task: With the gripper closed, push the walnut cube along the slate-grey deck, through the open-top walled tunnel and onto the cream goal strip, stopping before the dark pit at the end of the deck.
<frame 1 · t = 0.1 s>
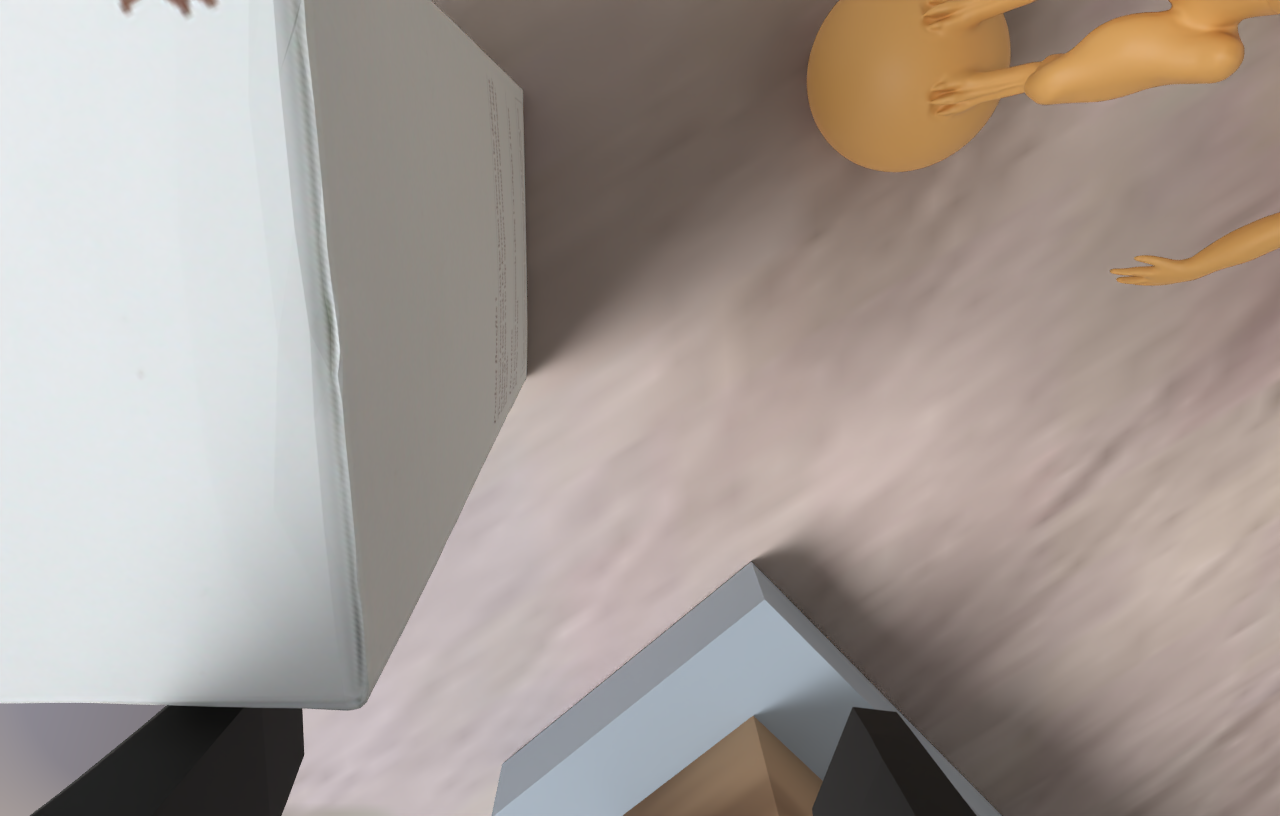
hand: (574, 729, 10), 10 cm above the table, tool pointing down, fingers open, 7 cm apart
figurine: (912, 77, 17), on the table
supplement box: (381, 239, 18), on the table
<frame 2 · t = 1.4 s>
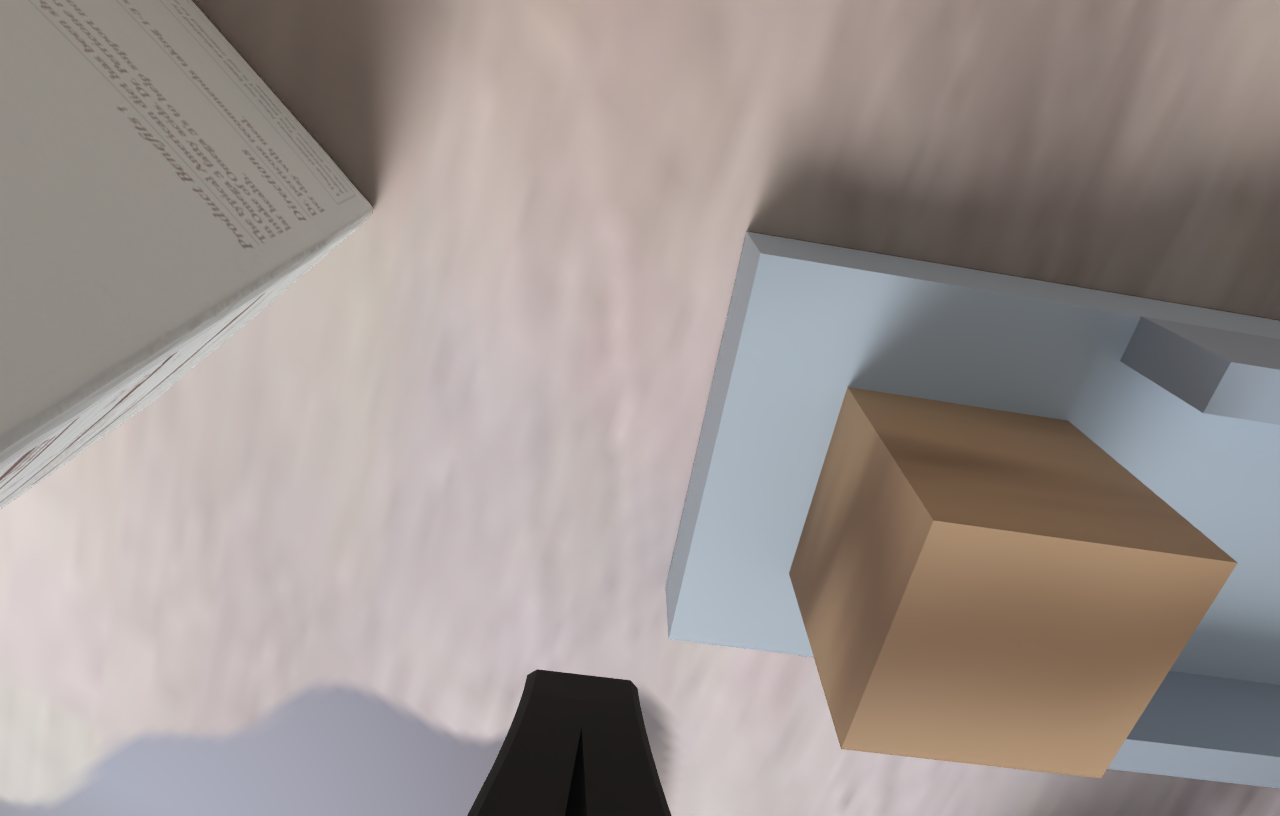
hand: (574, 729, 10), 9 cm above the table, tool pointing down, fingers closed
block: (921, 501, 17), point 2 cm above the table, touching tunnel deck
supplement box: (148, 176, 16), on the table
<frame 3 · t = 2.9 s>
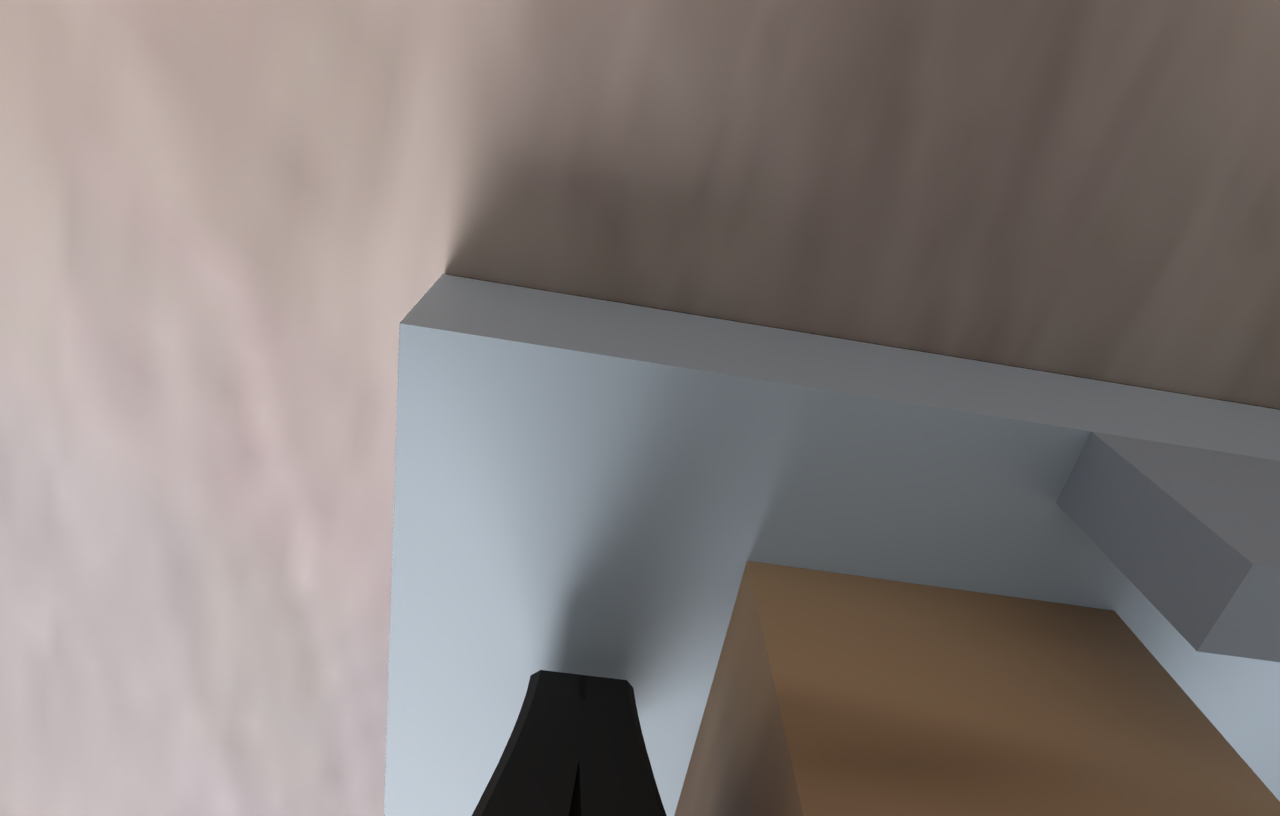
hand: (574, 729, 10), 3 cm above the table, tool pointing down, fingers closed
block: (876, 722, 11), point 2 cm above the table, touching gripper
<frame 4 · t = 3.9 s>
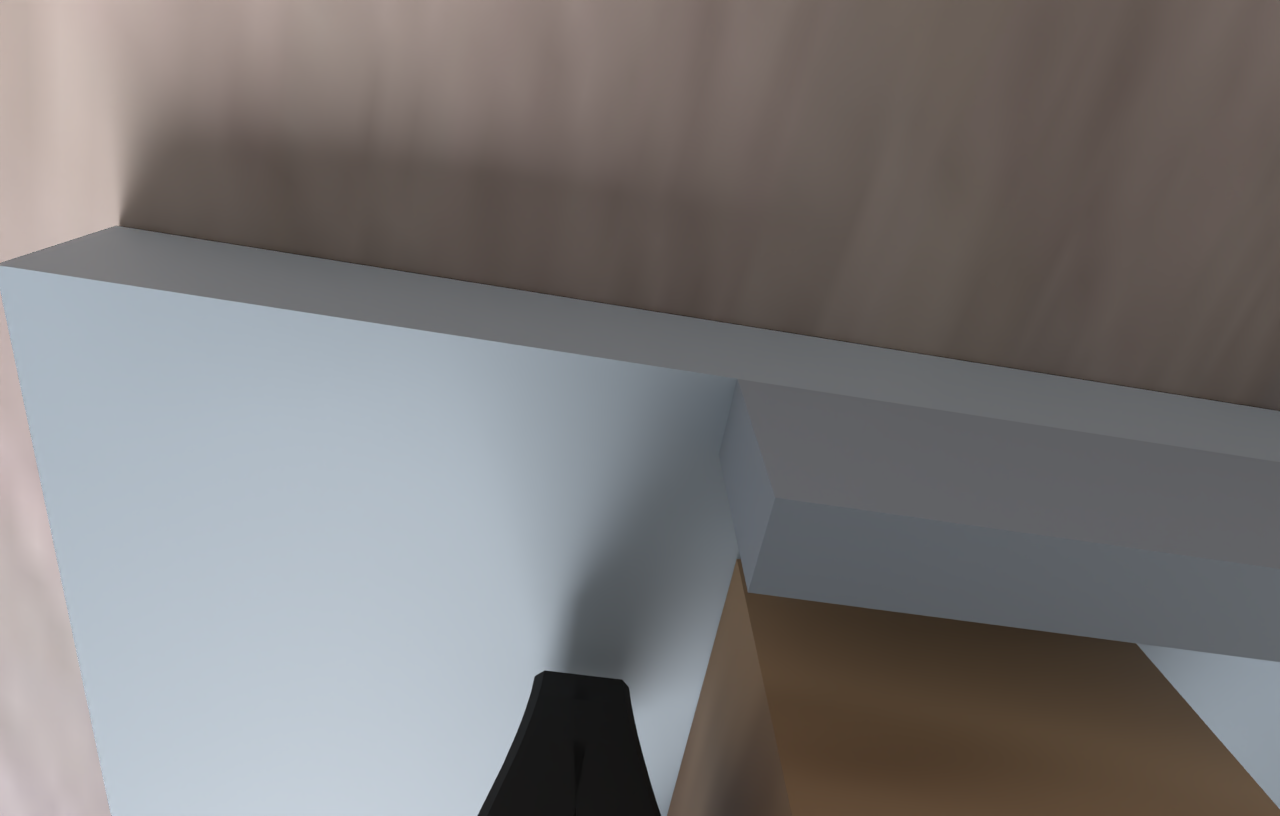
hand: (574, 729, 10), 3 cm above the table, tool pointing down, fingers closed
block: (867, 719, 11), point 2 cm above the table, touching gripper, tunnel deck
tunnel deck: (1159, 668, 13), on the table
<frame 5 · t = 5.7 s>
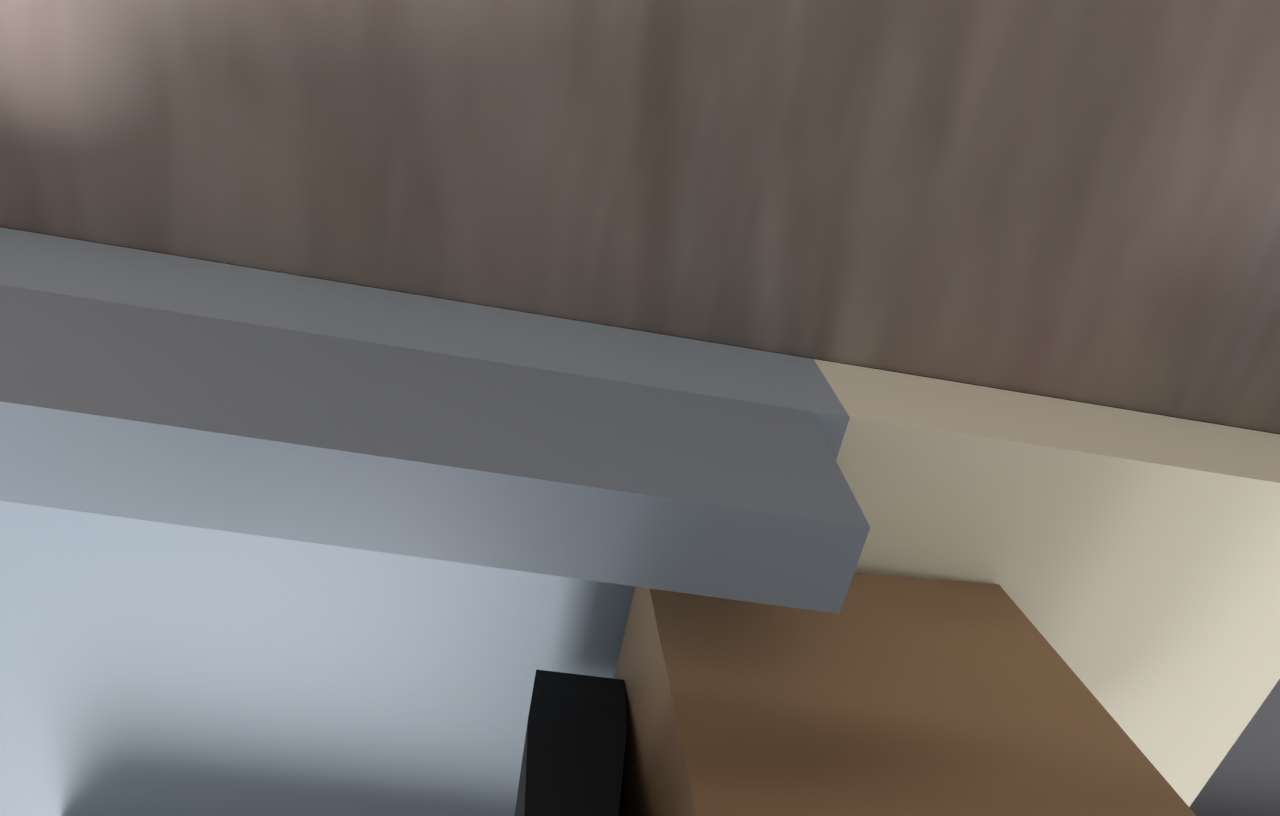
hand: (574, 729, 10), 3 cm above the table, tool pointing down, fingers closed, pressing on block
block: (778, 709, 11), point 2 cm above the table, tilted 7°, touching gripper, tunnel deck
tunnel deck: (652, 612, 13), on the table
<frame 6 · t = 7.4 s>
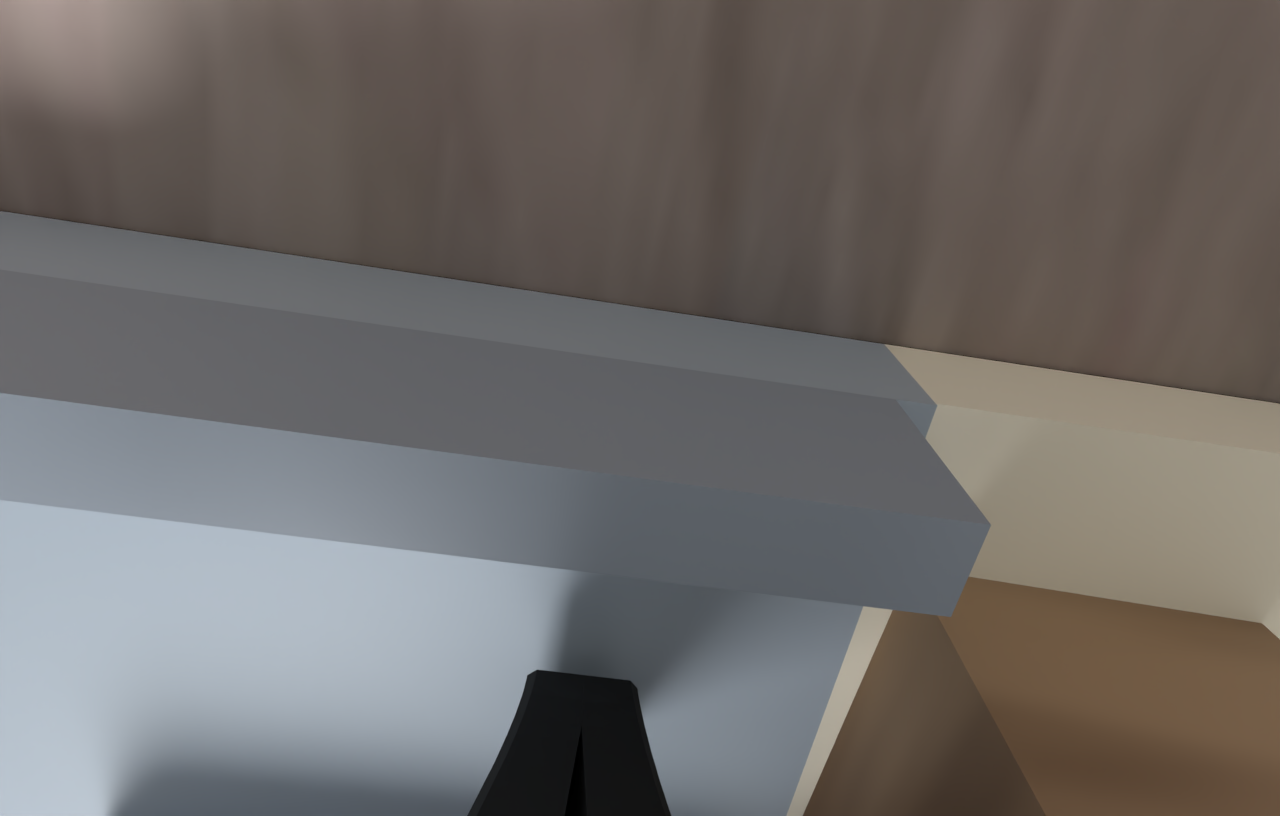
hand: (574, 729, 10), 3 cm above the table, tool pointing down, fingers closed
block: (1013, 728, 11), point 2 cm above the table, touching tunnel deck
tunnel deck: (708, 609, 12), on the table
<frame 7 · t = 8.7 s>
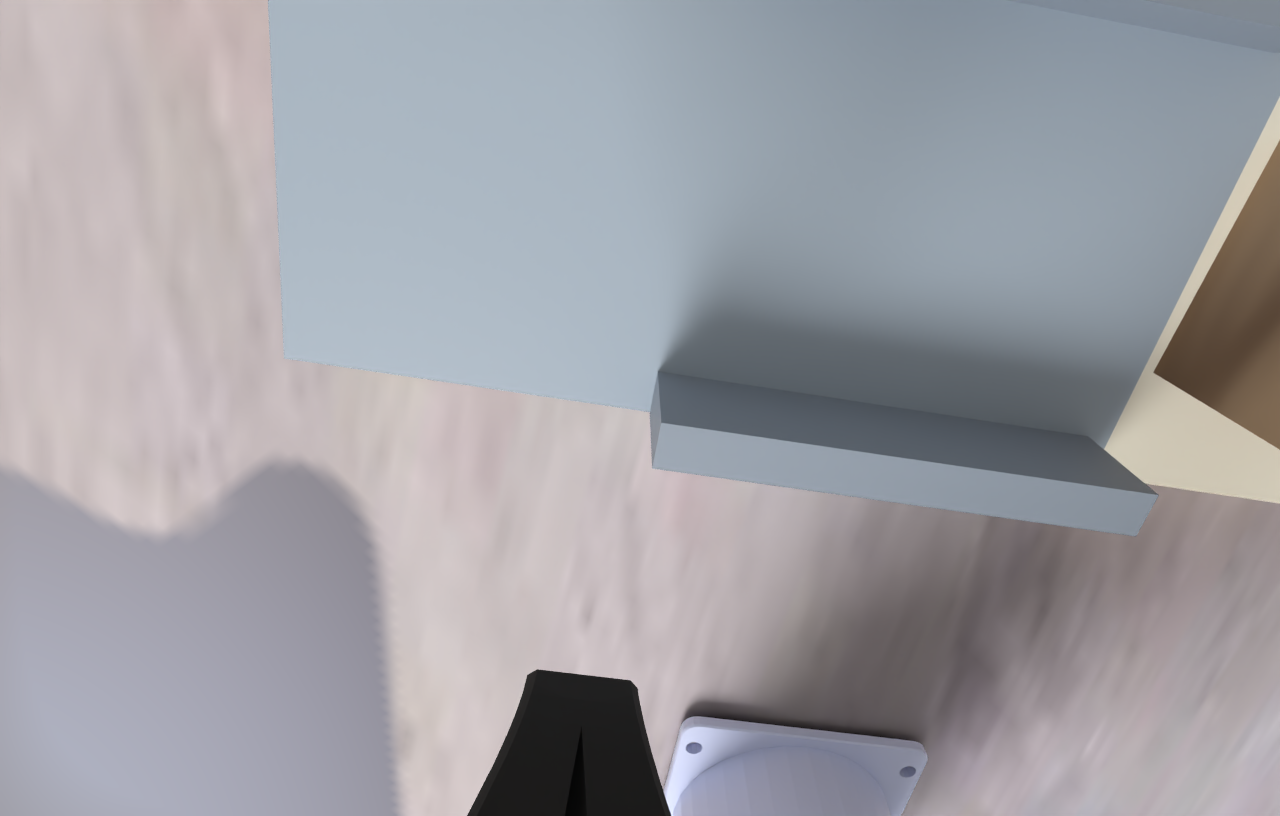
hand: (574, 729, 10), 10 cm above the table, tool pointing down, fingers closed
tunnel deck: (1072, 236, 17), on the table
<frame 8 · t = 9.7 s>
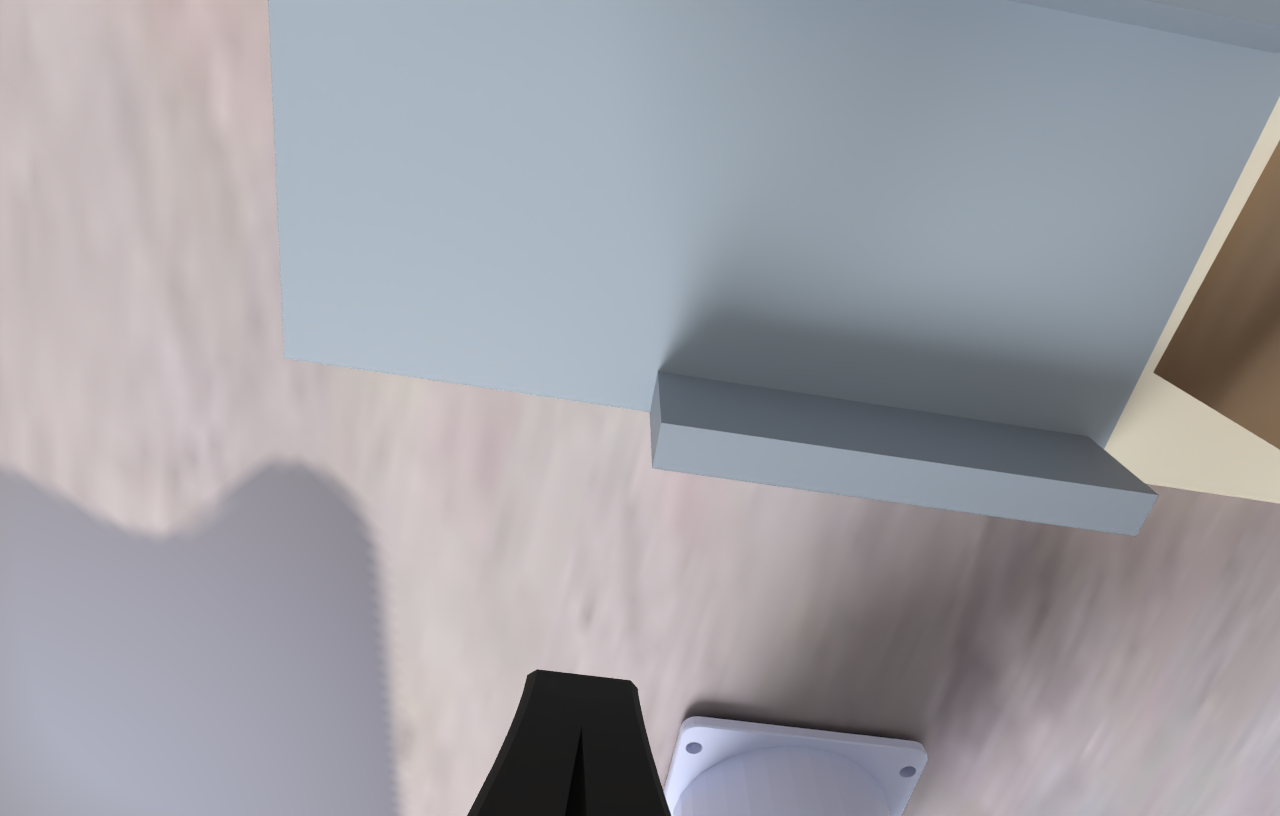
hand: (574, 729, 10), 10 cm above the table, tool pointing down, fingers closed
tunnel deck: (1072, 236, 17), on the table
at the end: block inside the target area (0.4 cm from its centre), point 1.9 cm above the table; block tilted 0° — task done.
